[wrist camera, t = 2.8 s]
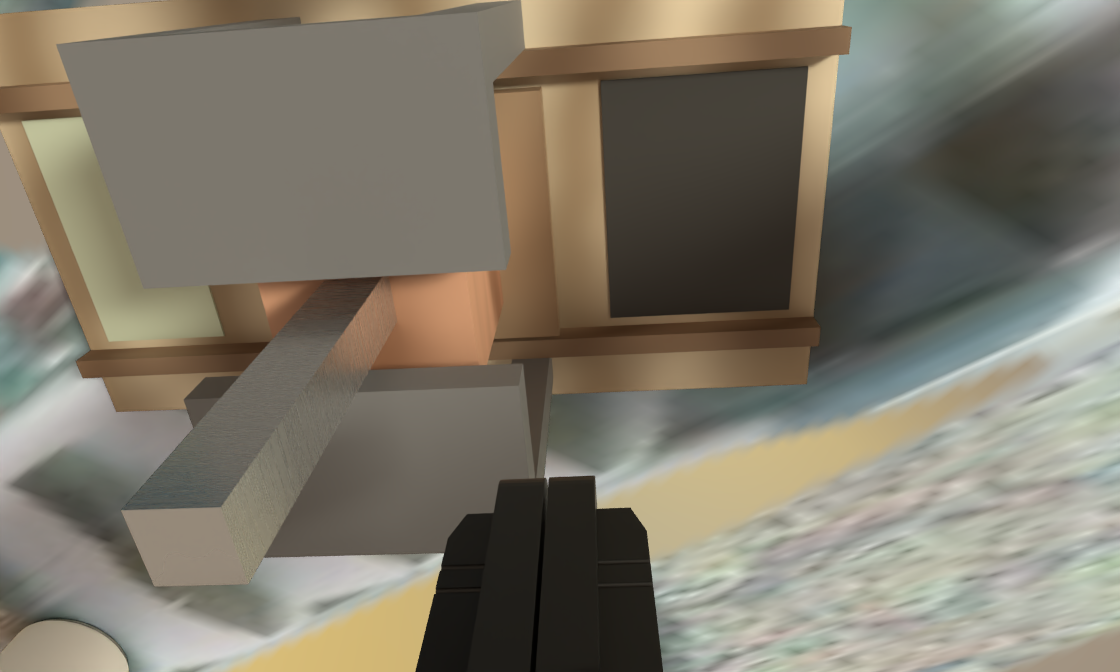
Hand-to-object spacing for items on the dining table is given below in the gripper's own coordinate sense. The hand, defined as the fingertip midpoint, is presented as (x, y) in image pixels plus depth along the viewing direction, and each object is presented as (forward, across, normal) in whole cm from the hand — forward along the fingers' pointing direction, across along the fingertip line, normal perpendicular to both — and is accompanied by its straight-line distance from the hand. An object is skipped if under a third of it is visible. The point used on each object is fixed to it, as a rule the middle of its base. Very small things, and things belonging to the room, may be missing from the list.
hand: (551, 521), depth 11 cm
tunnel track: (+19, +6, 0) cm, 19 cm away
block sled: (+17, +6, 0) cm, 18 cm away
